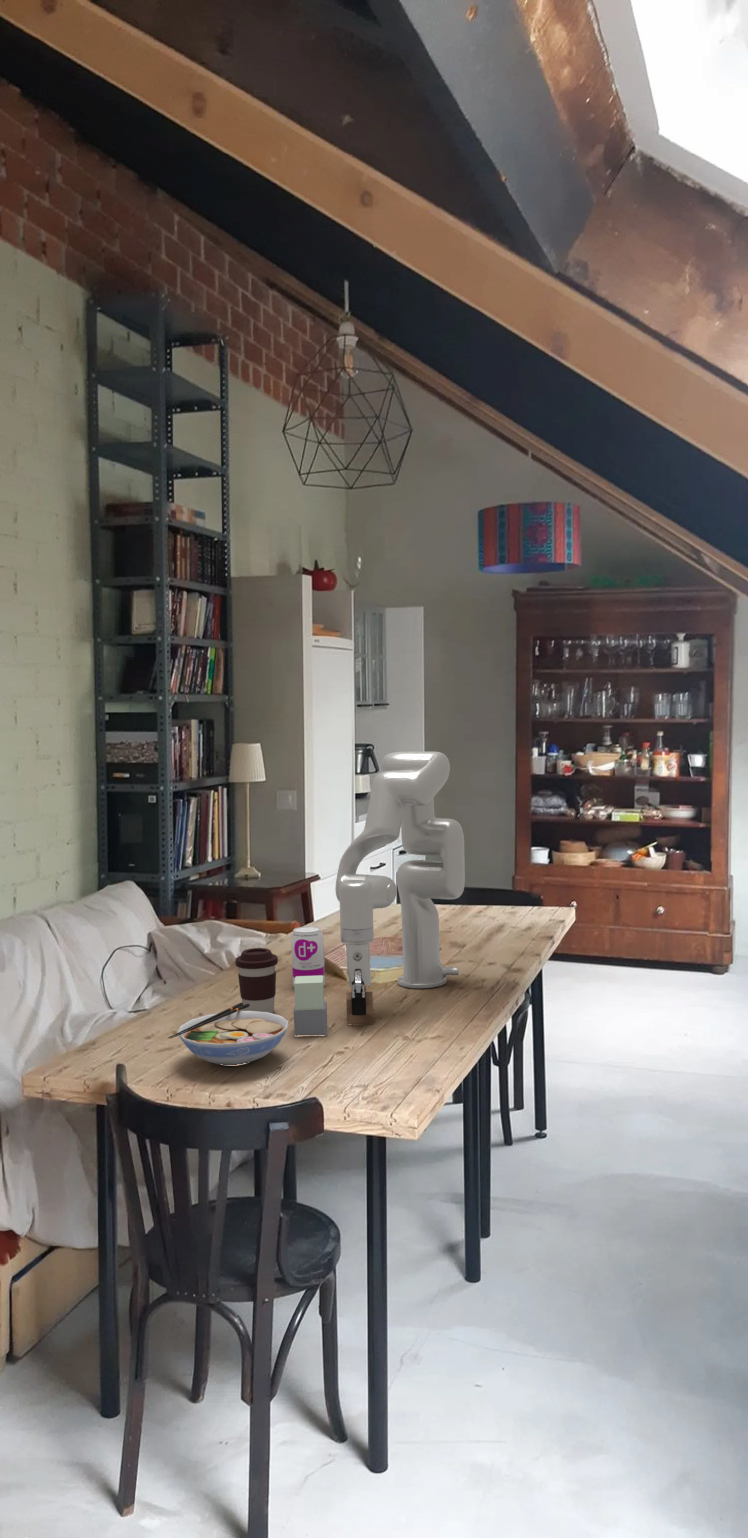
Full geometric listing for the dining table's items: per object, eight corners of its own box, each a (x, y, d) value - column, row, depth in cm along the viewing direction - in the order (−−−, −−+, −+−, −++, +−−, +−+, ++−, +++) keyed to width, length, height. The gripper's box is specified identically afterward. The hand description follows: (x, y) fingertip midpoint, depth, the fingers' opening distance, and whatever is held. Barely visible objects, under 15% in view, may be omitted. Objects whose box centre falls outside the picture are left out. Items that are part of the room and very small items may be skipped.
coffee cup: (286, 1008, 269) (283, 947, 268) (269, 1020, 260) (266, 956, 259) (248, 1006, 272) (246, 945, 271) (230, 1018, 263) (227, 954, 262)
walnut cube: (373, 1016, 261) (372, 991, 260) (373, 1024, 255) (372, 998, 254) (347, 1017, 260) (346, 992, 260) (347, 1025, 254) (346, 999, 254)
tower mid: (324, 1001, 253) (323, 975, 253) (323, 1009, 247) (322, 982, 246) (296, 1002, 253) (295, 976, 252) (295, 1010, 247) (294, 983, 246)
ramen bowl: (240, 1089, 216) (238, 1047, 215) (151, 1071, 228) (149, 1031, 227) (315, 1051, 237) (313, 1013, 236) (230, 1036, 249) (228, 1000, 248)
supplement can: (320, 991, 283) (318, 932, 282) (289, 991, 285) (287, 932, 284) (328, 983, 291) (326, 926, 290) (297, 982, 293) (295, 925, 292)
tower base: (327, 1026, 254) (326, 1000, 253) (326, 1036, 247) (325, 1009, 246) (296, 1028, 254) (295, 1002, 253) (294, 1037, 247) (293, 1010, 246)
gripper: (374, 942, 247) (376, 1019, 248) (372, 926, 265) (374, 998, 266) (339, 943, 247) (342, 1020, 248) (341, 927, 264) (343, 999, 265)
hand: (359, 1009), depth 257 cm, fingers open, 9 cm apart
